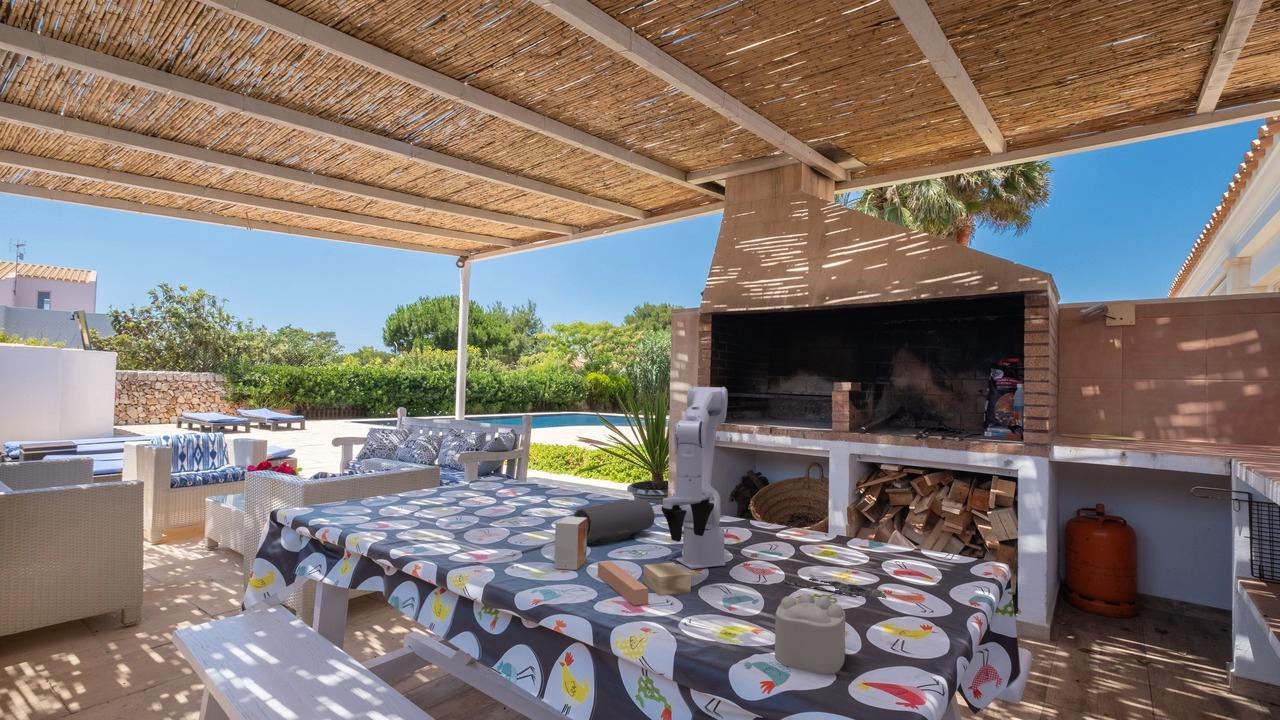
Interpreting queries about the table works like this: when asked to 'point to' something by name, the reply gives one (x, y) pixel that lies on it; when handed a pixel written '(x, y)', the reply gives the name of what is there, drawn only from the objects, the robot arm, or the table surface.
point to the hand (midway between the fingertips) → (687, 537)
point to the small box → (570, 543)
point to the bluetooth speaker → (617, 519)
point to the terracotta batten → (623, 583)
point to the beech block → (667, 578)
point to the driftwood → (848, 589)
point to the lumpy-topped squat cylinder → (810, 634)
